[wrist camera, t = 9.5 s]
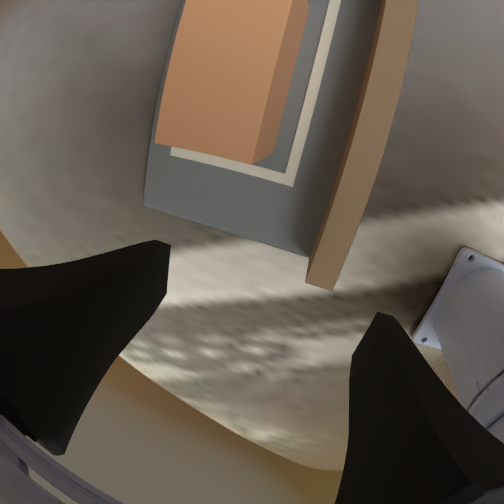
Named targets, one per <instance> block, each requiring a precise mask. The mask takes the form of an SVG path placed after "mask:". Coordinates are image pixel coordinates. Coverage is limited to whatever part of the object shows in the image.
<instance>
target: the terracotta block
mask: <svg viewBox="0 0 504 504" xmlns="http://www.w3.org/2000/svg"><path fill="white" fill-rule="evenodd" d="M308 13H309V3H308V0H186V3H185V6H184V9H183V13H182V16H181V20H180V23H179V27H178V31H177V34H176V38H175V42H174V46H173V50H172V54H171V58H170V63H169V67H168V71H167V76H166V81H165V85H164V90H163V95H162V101H161V106H160V112H159V117H158V123H157V129H156V136H155V143H157V144H162V145H167V146H172V147H177V148H182V149H186V150H191V151H196V152H200V153H205V154H209V155H213V156H217V157H222V158H226V159H230V160H234V161H238V162H242V163H246V164H250V165H252V164H254V163H256V162H258V161H260V160H261V159H263V158H265V157H267V156H269V155H270V154H272V153H273V152H274V148H275V144H276V140H277V136H278V132H279V128H280V124H281V120H282V116H283V112H284V108H285V104H286V100H287V96H288V92H289V88H290V84H291V80H292V76H293V72H294V68H295V64H296V60H297V56H298V52H299V48H300V44H301V40H302V36H303V32H304V28H305V24H306V21H307V17H308Z"/></svg>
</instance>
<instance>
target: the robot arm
mask: <svg viewBox="0 0 504 504" xmlns="http://www.w3.org/2000/svg"><path fill="white" fill-rule="evenodd" d="M170 248H171V245H169V244H166V243H163V242H160V241H158V240H151V241H146V242H142V243H138V244H135V245H131V246H128V247H124V248H121V249H117V250H114V251H110V252H107V253H103V254H99V255H95V256H91V257H88V258H84V259H80V260H76V261H71V262H66V263H61V264H55V265H49V266H40V267H30V268H19V269H0V504H65V503H64V502H62V501H61V500H59V499H58V498H57V497H55V496H54V495H53V494H51V493H50V492H49V491H47V490H46V489H44V488H43V487H42V486H41V485H39V484H38V483H37V482H35V481H34V480H33V479H32V478H31V477H30V476H29V469H28V467H27V465H28V466H29V467H30V468H31V469H32V470H34V471H35V472H36V473H37V474H39V475H40V476H41V477H42V478H44V479H45V480H46V481H47V482H49V483H50V484H51V485H53V486H54V487H56V488H57V489H58V490H60V491H61V492H63V493H64V494H65V495H67V496H68V497H70V498H71V499H73V500H74V501H76V502H77V503H79V504H124V503H122V502H121V501H119V500H117V499H115V498H113V497H111V496H109V495H108V494H106V493H104V492H102V491H101V490H99V489H97V488H96V487H94V486H92V485H91V484H89V483H87V482H86V481H84V480H83V479H81V478H80V477H78V476H77V475H75V474H74V473H72V472H71V471H69V470H68V469H66V468H65V467H63V466H62V465H61V464H59V463H58V462H57V461H55V460H54V459H52V458H51V457H50V456H49V455H47V454H46V453H45V452H43V451H42V450H41V449H40V448H39V447H37V446H36V445H35V444H34V443H32V442H31V441H30V440H29V439H28V438H27V437H25V436H26V435H27V436H28V437H29V438H31V439H32V440H33V441H34V442H38V443H39V444H40V445H41V446H43V447H44V448H45V449H46V450H48V451H49V452H50V453H52V454H53V455H56V456H57V455H63V454H65V451H66V448H67V446H68V443H69V441H70V439H71V436H72V434H73V432H74V430H75V427H76V425H77V423H78V421H79V419H80V417H81V415H82V413H83V411H84V409H85V407H86V405H87V404H88V402H89V400H90V398H91V396H92V395H93V393H94V391H95V390H96V388H97V386H98V384H99V383H100V381H101V380H102V378H103V377H104V375H105V373H106V372H107V370H108V369H109V367H110V366H111V364H112V363H113V362H114V360H115V359H116V358H117V356H118V355H119V354H120V353H121V352H122V350H123V349H124V348H125V347H126V346H127V344H128V343H129V342H130V341H131V340H132V339H133V337H134V336H135V335H136V334H137V333H138V332H139V331H140V329H141V328H142V327H143V326H144V325H145V323H146V322H147V321H148V320H149V319H150V318H151V316H152V315H153V314H154V312H155V311H156V309H157V308H158V306H159V305H160V303H161V301H162V300H163V298H164V297H165V295H166V293H167V280H168V269H169V258H170ZM471 255H473V256H472V258H471V259H470V260H468V259H469V257H470V256H471ZM424 337H426V338H425V339H422V338H424ZM412 339H413V341H414V342H415V343H418V344H422V345H425V346H429V347H433V348H437V349H441V350H442V351H443V354H444V357H445V360H446V363H447V366H448V369H449V372H450V375H451V379H452V382H453V385H454V389H455V392H456V396H457V399H458V400H457V399H456V398H455V397H454V396H453V395H452V394H451V392H450V391H449V390H448V389H447V388H446V386H445V385H444V384H443V383H442V381H441V380H440V379H439V377H438V376H437V375H436V373H435V372H434V371H433V370H432V368H431V367H430V365H429V364H428V363H427V361H426V360H425V359H424V357H423V356H422V354H421V353H420V351H419V350H418V349H417V347H416V346H415V344H414V343H413V341H412V340H411V339H410V337H409V336H408V334H407V333H406V332H405V330H404V329H403V328H402V326H401V325H400V324H399V322H398V321H397V320H396V319H395V318H394V317H393V316H390V315H387V314H384V313H380V312H377V313H376V315H375V317H374V319H373V321H372V322H371V324H370V326H369V328H368V329H367V331H366V333H365V335H364V336H363V338H362V340H361V341H360V343H359V345H358V346H357V348H356V350H355V351H354V353H353V354H352V362H351V369H350V378H349V437H348V448H347V453H346V459H345V465H344V470H343V474H342V479H341V483H340V487H339V491H338V495H337V498H336V501H335V504H504V264H502V263H500V262H497V261H495V260H493V259H491V258H489V257H487V256H485V255H483V254H481V253H479V252H476V251H474V250H472V249H470V248H468V247H464V248H462V249H461V250H460V251H459V253H458V255H457V257H456V259H455V261H454V263H453V266H452V267H451V269H450V271H449V273H448V275H447V277H446V279H445V281H444V283H443V285H442V287H441V288H440V290H439V292H438V294H437V296H436V297H435V299H434V301H433V303H432V304H431V306H430V308H429V309H428V311H427V313H426V314H425V316H424V318H423V319H422V321H421V322H420V324H419V326H418V327H417V329H416V330H415V332H414V333H413V335H412Z"/></svg>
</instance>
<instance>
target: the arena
mask: <svg viewBox="0 0 504 504" xmlns="http://www.w3.org/2000/svg"><path fill="white" fill-rule="evenodd" d="M185 3H186V0H182V2H181V5H180V9H179V12H178V15H177V19H176V22H175V26H174V30H173V33H172V37H171V41H170V45H169V49H168V53H167V57H166V61H165V66H164V70H163V75H162V79H161V84H160V89H159V94H158V99H157V104H156V110H155V116H154V122H153V128H152V134H151V141H150V148H149V155H148V163H147V171H146V180H145V190H144V200H143V206H144V207H147V208H150V209H154V210H157V211H160V212H164V213H167V214H170V215H174V216H177V217H180V218H183V219H187V220H190V221H193V222H196V223H200V224H203V225H206V226H209V227H213V228H216V229H219V230H222V231H225V232H229V233H232V234H235V235H238V236H241V237H245V238H248V239H251V240H254V241H257V242H261V243H264V244H267V245H270V246H273V247H276V248H280V249H283V250H286V251H289V252H292V253H295V254H298V255H302V256H305V257H308V258H309V262H308V269H307V275H306V281H305V283H308V284H311V285H314V286H318V287H321V288H324V289H327V290H330V291H332V290H333V288H334V286H335V283H336V281H337V279H338V276H339V274H340V272H341V269H342V267H343V264H344V262H345V259H346V257H347V254H348V252H349V249H350V247H351V244H352V242H353V239H354V237H355V234H356V231H357V229H358V226H359V223H360V221H361V218H362V215H363V213H364V210H365V207H366V204H367V201H368V199H369V196H370V193H371V190H372V187H373V184H374V181H375V178H376V175H377V172H378V169H379V166H380V163H381V160H382V156H383V153H384V150H385V147H386V143H387V140H388V136H389V133H390V130H391V126H392V122H393V119H394V115H395V111H396V108H397V104H398V100H399V96H400V92H401V88H402V84H403V80H404V75H405V71H406V66H407V62H408V57H409V52H410V47H411V42H412V37H413V31H414V26H415V20H416V13H417V7H418V0H308V3H309V13H308V17H307V21H306V24H305V28H304V32H303V36H302V40H301V44H300V48H299V52H298V56H297V60H296V64H295V68H294V72H293V76H292V80H291V84H290V88H289V92H288V96H287V100H286V104H285V108H284V112H283V116H282V120H281V124H280V128H279V132H278V136H277V140H276V144H275V148H274V152H273V153H272V154H270V155H269V156H267V157H265V158H263V159H261V160H260V161H258V162H256V163H254V164H252V165H250V164H246V163H242V162H238V161H234V160H230V159H226V158H222V157H217V156H213V155H209V154H205V153H200V152H196V151H191V150H186V149H182V148H177V147H172V146H167V145H162V144H157V143H155V136H156V129H157V123H158V117H159V112H160V106H161V101H162V95H163V90H164V85H165V81H166V76H167V71H168V67H169V63H170V58H171V54H172V50H173V46H174V42H175V38H176V34H177V31H178V27H179V23H180V20H181V16H182V13H183V9H184V6H185Z"/></svg>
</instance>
